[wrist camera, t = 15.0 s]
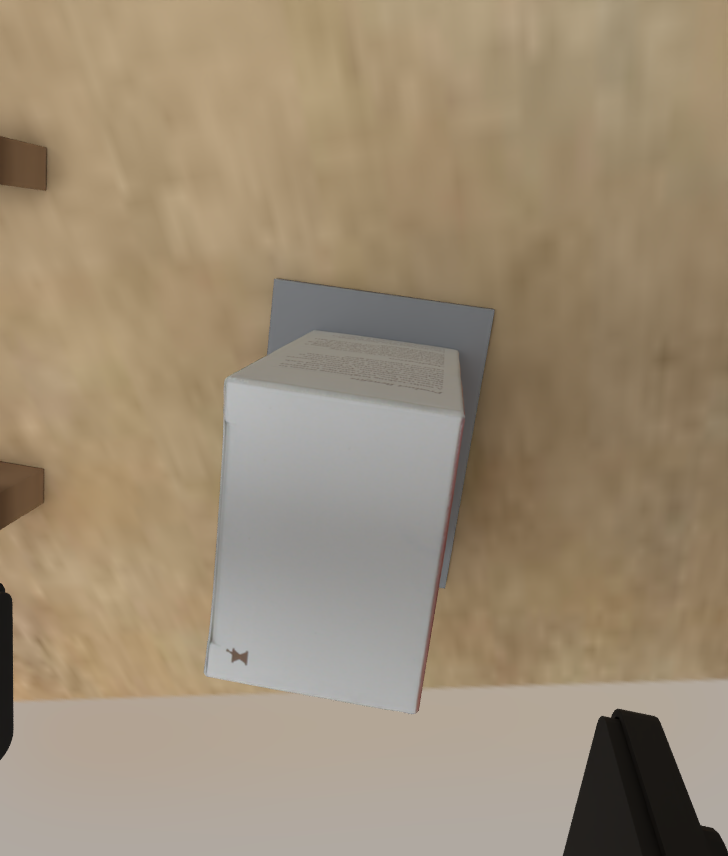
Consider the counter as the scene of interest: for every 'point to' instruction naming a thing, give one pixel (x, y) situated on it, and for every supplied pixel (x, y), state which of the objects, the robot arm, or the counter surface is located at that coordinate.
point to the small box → (335, 517)
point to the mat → (398, 321)
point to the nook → (4, 482)
